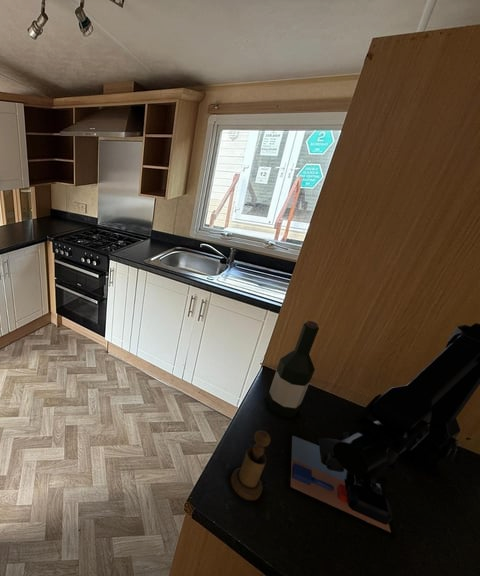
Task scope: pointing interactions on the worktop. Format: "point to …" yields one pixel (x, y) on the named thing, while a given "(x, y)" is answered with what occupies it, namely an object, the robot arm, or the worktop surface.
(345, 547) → the worktop surface
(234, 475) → the mortar and pestle
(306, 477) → the blue spoon
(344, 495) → the red spoon
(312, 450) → the sorting board
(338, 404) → the worktop surface
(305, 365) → the wine bottle
